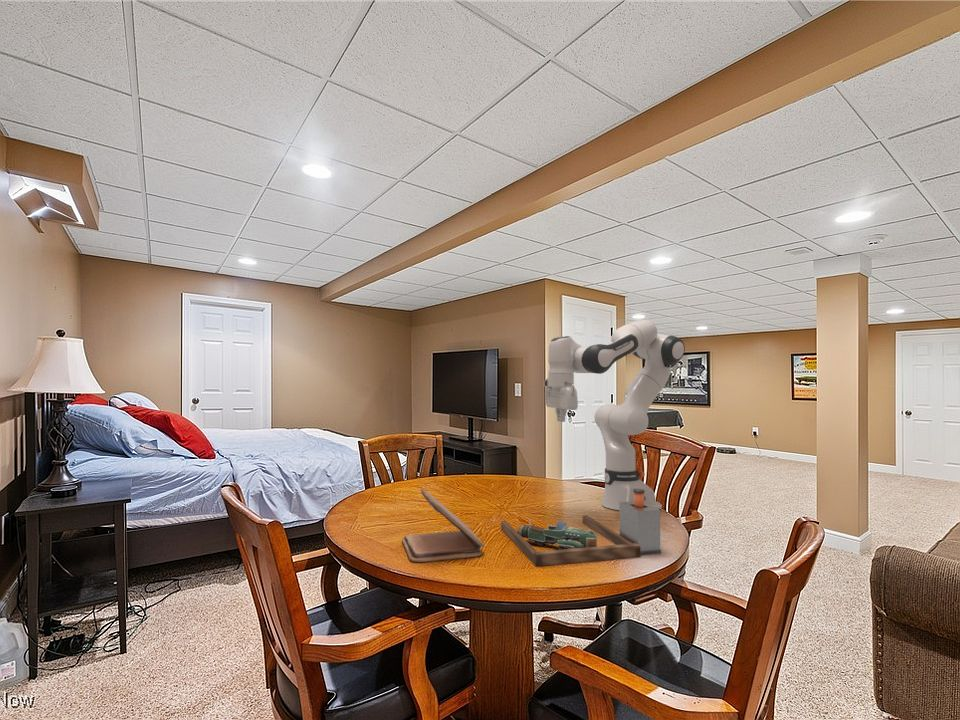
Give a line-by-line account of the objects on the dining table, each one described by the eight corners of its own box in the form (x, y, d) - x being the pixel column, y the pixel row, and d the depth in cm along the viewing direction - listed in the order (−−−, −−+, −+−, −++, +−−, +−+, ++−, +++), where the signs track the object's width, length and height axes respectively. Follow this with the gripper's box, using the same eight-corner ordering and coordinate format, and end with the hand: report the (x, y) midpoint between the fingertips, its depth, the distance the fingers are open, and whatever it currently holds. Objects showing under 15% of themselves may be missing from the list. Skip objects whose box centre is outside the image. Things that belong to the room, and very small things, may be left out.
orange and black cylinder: (640, 514, 142) (640, 488, 143) (647, 517, 139) (646, 490, 140) (631, 514, 142) (631, 488, 142) (637, 518, 139) (637, 491, 139)
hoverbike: (593, 561, 129) (592, 530, 130) (509, 545, 142) (509, 517, 142) (602, 551, 138) (602, 521, 138) (523, 536, 150) (523, 509, 151)
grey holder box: (640, 541, 146) (640, 500, 146) (660, 552, 136) (660, 509, 137) (619, 542, 144) (618, 502, 145) (638, 554, 134) (637, 511, 135)
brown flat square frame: (586, 522, 164) (586, 513, 165) (640, 556, 133) (640, 545, 133) (501, 528, 157) (501, 519, 157) (536, 566, 126) (536, 554, 126)
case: (486, 557, 132) (487, 498, 133) (410, 565, 126) (411, 503, 127) (467, 535, 152) (468, 483, 153) (400, 540, 146) (401, 487, 147)
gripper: (582, 382, 160) (582, 424, 160) (558, 382, 180) (558, 419, 179) (564, 382, 159) (564, 424, 158) (542, 381, 179) (542, 419, 178)
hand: (561, 421), depth 169 cm, fingers closed
